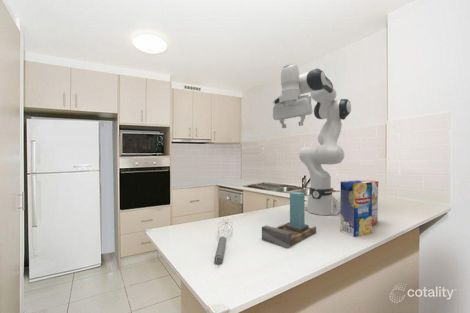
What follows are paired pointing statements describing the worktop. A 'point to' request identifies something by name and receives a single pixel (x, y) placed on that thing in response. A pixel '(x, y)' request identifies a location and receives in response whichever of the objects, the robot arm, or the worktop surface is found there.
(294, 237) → the track
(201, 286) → the worktop surface
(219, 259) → the kitchen whisk
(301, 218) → the teal block on base
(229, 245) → the worktop surface
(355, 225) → the beverage box
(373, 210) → the cracker box
